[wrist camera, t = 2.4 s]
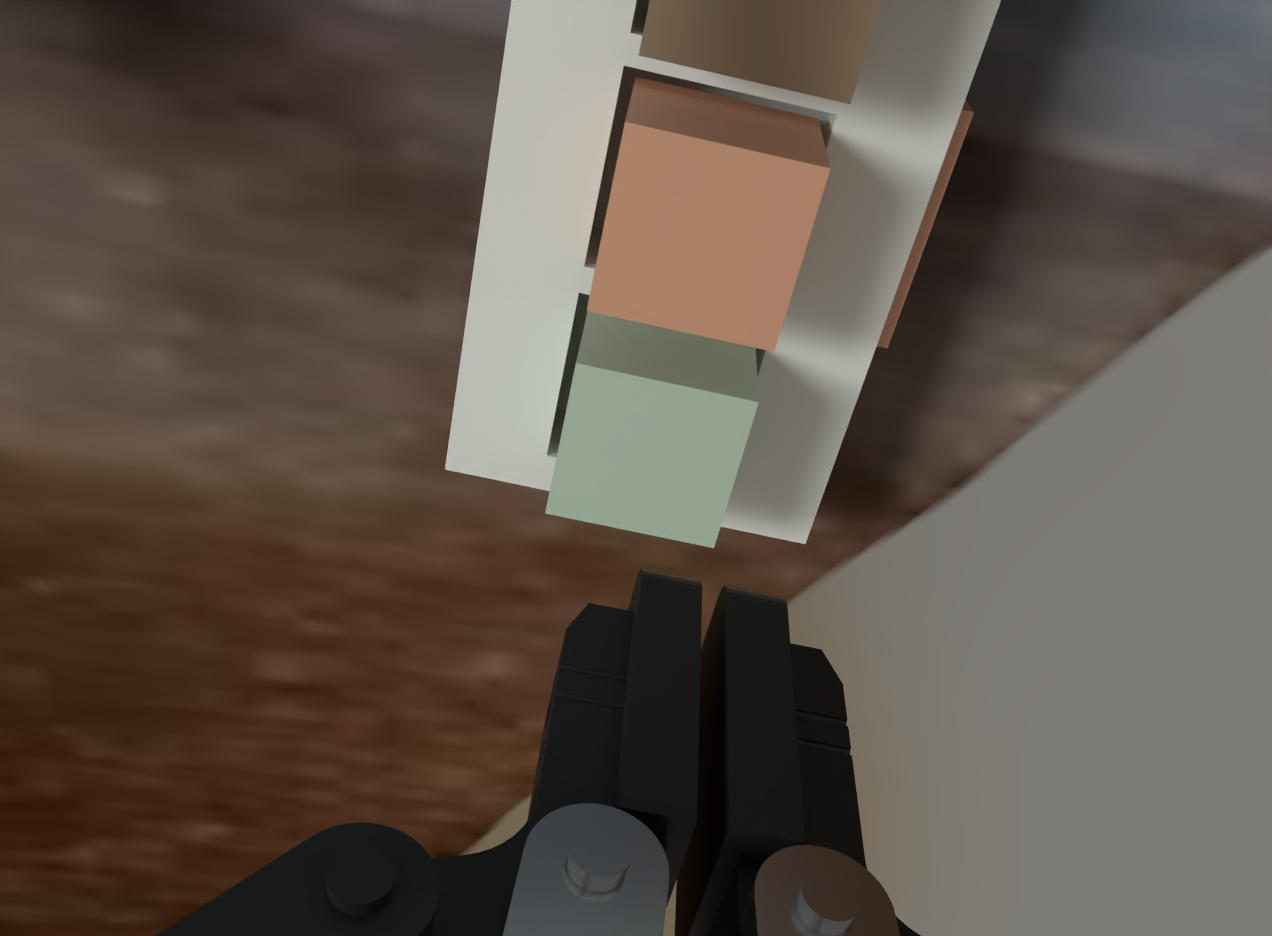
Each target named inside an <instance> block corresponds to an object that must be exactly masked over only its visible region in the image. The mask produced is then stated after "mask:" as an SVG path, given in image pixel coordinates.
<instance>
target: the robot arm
mask: <svg viewBox="0 0 1272 936" xmlns="http://www.w3.org/2000/svg"><path fill="white" fill-rule="evenodd" d="M701 611H702V583H701V581H698V580H693V579H688V578H683V577H678V576H673V575H669V574H664V573H659V572H654V571H649V570H644V569H640V571H639V573H638V576H637V580H636V583H635V587H634V591H633V594H632V598H631V602H630V606H629V609H628V611H627V610H622V609H617V608H612V607H607V606H602V605H597V604H592V603H589V604H588V605H587V606H586V607H585V608H584V609H583V610H582V612H581V613H580V614H579V615H578V616H577V617H576V618H575V620H574V621H573V622H572V623H571V624H570V625H569V626H568V628H567V629H566V632H565V637H564V641H563V645H562V650H561V654H560V658H559V663H558V667H557V671H556V676H555V680H554V684H553V689H552V693H551V697H550V702H549V706H548V710H547V715H546V719H545V724H544V730H543V735H542V741H541V747H540V752H539V759H538V764H537V769H536V775H535V781H534V787H533V792H532V798H531V803H530V809H529V815H528V821H527V822H526V824H525V825H524V826H523V828H522V829H521V830H519V832H517V833H516V834H515V835H514V836H513V837H512V838H510V839H508V840H507V841H506V842H504V843H502V844H500V845H498V846H496V847H494V848H492V849H488V850H485V851H482V852H479V853H474V854H468V855H461V856H451V857H442V858H433V859H431V857H430V856H429V854H428V853H427V852H426V850H425V849H424V848H423V847H422V846H421V845H420V844H419V843H418V842H417V841H415V840H414V839H413V838H412V837H410V836H408V835H406V834H405V833H403V832H401V831H399V830H396V829H394V828H391V827H388V826H384V825H379V824H374V823H349V824H344V825H339V826H335V827H332V828H329V829H326V830H324V831H321V832H319V833H318V834H316V835H314V836H312V837H310V838H309V839H307V840H305V841H304V842H302V843H301V844H299V845H298V846H296V847H294V848H293V849H291V850H290V851H288V852H287V853H285V854H283V855H282V856H280V857H279V858H277V859H276V860H274V861H272V862H271V863H269V864H268V865H266V866H265V867H263V868H261V869H260V870H258V871H257V872H255V873H254V874H252V875H250V876H249V877H247V878H246V879H244V880H243V881H241V882H239V883H238V884H236V885H235V886H233V887H232V888H230V889H229V890H227V891H225V892H224V893H222V894H221V895H219V896H218V897H216V898H214V899H213V900H211V901H210V902H208V903H207V904H205V905H203V906H202V907H200V908H199V909H197V910H196V911H194V912H192V913H191V914H189V915H188V916H186V917H185V918H183V919H181V920H180V921H178V922H177V923H175V924H174V925H172V926H170V927H169V928H167V929H166V930H164V931H163V932H161V933H159V934H158V935H156V936H663V930H664V921H665V912H666V907H667V905H668V901H669V899H670V896H671V893H672V890H673V888H674V885H675V882H676V879H677V889H676V890H677V891H676V918H675V936H920V935H919V934H917V933H916V932H914V931H913V930H912V929H910V928H909V927H907V926H906V925H905V924H904V923H903V922H901V920H899V919H898V918H897V917H896V915H895V912H894V908H893V905H892V903H891V901H890V899H889V897H888V894H887V893H886V891H885V890H884V888H883V887H882V885H881V884H880V883H879V882H878V881H877V879H876V878H875V877H874V876H873V875H872V874H871V873H870V872H869V871H868V870H867V867H866V863H865V856H864V849H863V840H862V833H861V824H860V816H859V809H858V801H857V793H856V786H855V777H854V769H853V761H852V756H851V755H850V749H851V745H850V738H849V730H848V727H847V726H846V722H847V714H846V706H845V698H844V691H843V684H842V682H841V681H840V679H839V678H838V676H837V674H836V672H835V671H834V669H833V668H832V666H831V664H830V663H829V661H828V660H827V658H826V656H825V655H824V653H823V651H822V650H820V649H816V648H811V647H806V646H801V645H796V644H791V643H790V636H789V622H788V608H787V602H786V600H785V598H782V597H777V596H772V595H767V594H763V593H758V592H753V591H748V590H743V589H738V588H733V587H728V586H724V587H723V588H722V589H721V591H720V594H719V596H718V599H717V602H716V605H715V608H714V611H713V615H712V618H711V621H710V624H709V627H708V630H707V633H706V637H705V640H704V643H703V646H702V649H701Z"/></svg>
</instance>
